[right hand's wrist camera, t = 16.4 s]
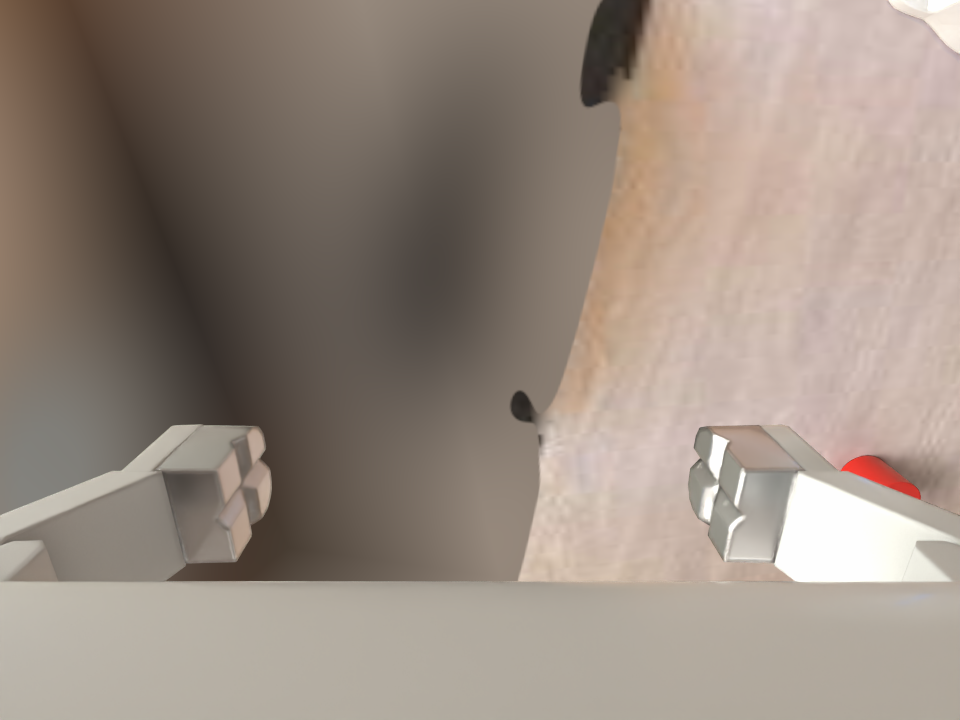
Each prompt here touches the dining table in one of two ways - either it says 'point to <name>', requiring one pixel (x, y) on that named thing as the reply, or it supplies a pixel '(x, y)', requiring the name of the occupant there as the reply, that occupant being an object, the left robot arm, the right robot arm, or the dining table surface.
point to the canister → (881, 474)
